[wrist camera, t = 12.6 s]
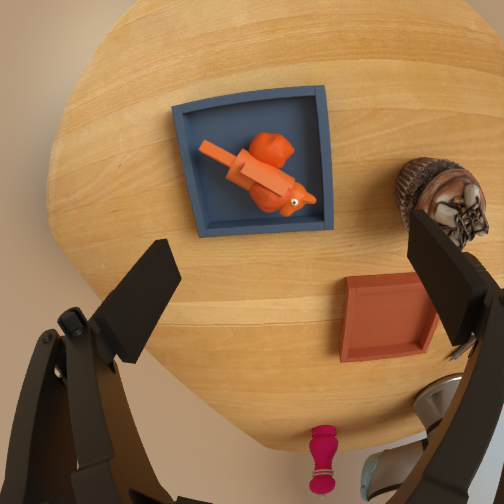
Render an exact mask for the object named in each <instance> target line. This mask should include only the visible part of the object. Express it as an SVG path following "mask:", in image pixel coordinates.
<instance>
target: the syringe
mask: <svg viewBox="0 0 504 504" xmlns="http://www.w3.org/2000/svg"><path fill="white" fill-rule="evenodd" d="M472 335H474V333H472ZM475 341H476V337H475V335H474V336H473V337H472V338H471V339H470V340H469V341H468V343H465V344H464V345H463V346H462V347H461V348H459V349H458V350H457V351H456V352H455V353H454V354H453V355H452V358H451V359H450V360H449V361H452V360H453V359H454V360H456V359H457V358H458V357H459V356H461V355H462V354H463V353H464V352H465V351H467V350H468V349H469V348H470V347H471V346H472V345H473V344H474V343H475ZM449 361H448V362H449ZM448 362H447V363H448ZM443 366H444V365H443Z"/></svg>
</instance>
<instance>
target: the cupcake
mask: <svg viewBox="0 0 504 504" xmlns="http://www.w3.org/2000/svg"><path fill="white" fill-rule="evenodd" d="M394 193H395V197H396V203H397V205H398V208H399V210H400V213H401V216H402V220H403V222H404V225H405V228H407V231H408V233H409V222H410V210H417V209H423V210H424V211H425V212H426V213H427V214H428V215H429V216H430V217H431V218H432V219H433V220H434V221H435V222H436V223H437V224H438V226H439V227H440V228H441V229H442V230H443V231H444V232H445V233H446V234H447V235H448V237H449V238H450V239H451V240H452V241H453V242H454V243H455V245H456V246H457V247H458V248H459V249H460V250H461V252H462V249H463V248H464V247H465V245H466V242H468V241H472V240H473V238H474V237H475V235H476V234H477V235H479V236H484V235H485V234H488V229H489V226H488V222H487V220H486V217H485V210H486V201H485V198H484V194H483V192H482V189H481V187H480V185H479V183H478V181H477V180H476V179H475V177H474V176H473V175H472V174H471V173H469V171H468V170H466V169H464V168H463V167H462V166H460V165H459V164H458V163H455V162H453V161H449V160H445V159H434V158H426V157H424V158H418V159H415V160H412V161H411V162H410V163H408V164H407V165H405V166H404V167H403V168H402V170H401V171H400V173H399V175H398V177H397V180H396V184H395V192H394Z"/></svg>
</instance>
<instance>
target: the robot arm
mask: <svg viewBox="0 0 504 504" xmlns="http://www.w3.org/2000/svg"><path fill="white" fill-rule="evenodd" d="M407 257H408V259H409V261H410V263H411V264H412V266H413V268H414V270H415V271H416V273H417V275H418V277H419V279H420V280H421V282H422V284H423V286H424V288H425V290H426V292H427V293H428V295H429V297H430V299H431V301H432V303H433V305H434V307H435V309H436V311H437V313H438V315H439V318H440V320H441V322H442V324H443V326H444V328H445V330H446V333H447V335H448V337H449V339H450V342H451V344H452V346H457V345H461V344H465V343H468V341H469V339H470V337H471V334H472V332H473V333H474V335H475V337H476V341H475V343H474V345H473V347H472V349H471V351H470V353H469V355H468V358H469V359H468V362H467V365H466V367H465V370H464V373H458V374H453V375H449V376H447V377H444V378H442V379H440V380H438V381H436V382H434V383H432V384H430V385H429V386H427V387H426V388H425V389H423V390H422V391H421V392H420V393H419V394H418V395H417V396H416V397H415V399H414V401H413V407H414V410H415V413H416V414H417V416H418V417H419V419H420V420H421V422H422V424H423V425H424V427H425V428H426V432H427V438H425V439H422V440H419V441H416V442H413V443H410V444H407V445H404V446H400V447H397V448H393V449H389V450H388V449H386V450H384V451H382V452H379V453H375V454H372V455H370V456H369V457H368V458H367V459H366V461H365V463H364V466H363V470H362V475H361V490H360V491H361V497H362V499H363V500H364V501H368V504H467V501H468V498H469V496H468V492H467V491H468V488H469V486H470V484H471V482H472V480H473V478H474V476H475V474H476V472H477V470H478V468H479V466H480V464H481V462H482V460H483V457H484V455H485V453H486V451H487V448H488V446H489V443H490V441H491V438H492V436H493V433H494V431H495V428H496V425H497V422H498V419H499V416H500V413H501V410H502V407H503V404H504V288H503V289H501V288H500V287H499V286H498V284H497V283H496V282H495V280H494V279H493V278H492V276H491V275H490V274H489V273H488V271H486V269H485V268H484V266H483V265H482V264H481V263H480V262H479V260H478V259H477V258H476V257H475V256H473V255H472V254H470V253H469V252H461V250H460V249H459V248H458V247H457V246H456V245H455V243H454V242H453V241H452V240H451V239H450V238H449V237H448V235H447V234H446V233H445V232H444V231H443V230H442V229H441V228H440V227H439V226H438V224H437V223H436V222H435V221H434V220H433V219H432V218H431V217H430V216H429V215H428V214H427V213H426V212H425V211H424V210H423V209H417V210H410V222H409V240H408V252H407ZM181 279H182V278H181V276H180V273H179V270H178V268H177V265H176V263H175V260H174V257H173V254H172V252H171V249H170V246H169V244H168V241H167V239H160V240H155V241H154V242H153V244H152V245H151V246H150V247H149V248H148V249H147V251H146V252H145V253H144V254H143V255H142V256H141V258H140V259H139V260H138V261H137V262H136V264H135V265H134V266H133V267H132V268H131V270H130V271H129V272H128V273H127V274H126V276H125V277H124V278H123V279H122V281H121V282H120V283H119V284H118V286H117V287H116V288H115V289H114V290H113V291H111V292H110V293H109V295H108V296H107V297H106V299H105V300H104V301H103V302H102V304H101V306H99V308H98V309H97V310H96V311H95V313H94V314H93V315H92V317H91V318H90V319H89V321H87V319H86V318H85V316H84V314H83V313H82V311H81V310H80V308H78V307H73V308H70V309H68V310H67V311H65V312H64V313H63V314H61V316H60V317H59V318H58V321H57V323H58V324H59V326H60V327H61V329H62V330H63V332H64V333H65V336H60V335H59V334H58V333H57V331H56V330H55V329H49V330H46V331H45V332H43V333H42V335H41V336H40V337H39V339H38V341H37V343H36V346H35V349H34V352H33V354H32V357H31V360H30V363H29V366H28V369H27V373H26V375H25V379H24V382H23V385H22V389H21V392H20V396H19V400H18V404H17V408H16V412H15V416H14V421H13V425H12V430H11V436H10V442H9V448H8V454H7V462H6V471H5V480H4V483H3V486H2V489H1V493H0V504H212V503H208V502H203V501H198V500H193V499H189V498H185V497H180V496H178V498H177V501H173V499H172V498H171V496H170V495H169V494H168V492H167V491H166V490H165V489H164V488H163V487H162V486H161V485H160V483H159V481H158V480H157V477H156V475H155V473H154V471H153V468H152V466H151V464H150V462H149V459H148V457H147V454H146V452H145V449H144V447H143V444H142V442H141V439H140V437H139V434H138V431H137V428H136V426H135V423H134V420H133V417H132V414H131V411H130V408H129V405H128V402H127V399H126V395H125V392H124V389H123V385H122V382H121V378H120V375H119V370H118V366H117V364H116V362H115V360H114V357H115V355H116V353H117V355H118V356H119V358H120V359H121V360H122V362H126V363H133V364H136V362H137V360H138V358H139V356H140V354H141V352H142V350H143V348H144V346H145V345H146V343H147V341H148V339H149V337H150V335H151V333H152V331H153V330H154V328H155V326H156V324H157V322H158V320H159V319H160V317H161V315H162V313H163V311H164V309H165V308H166V306H167V304H168V302H169V300H170V299H171V297H172V295H173V293H174V292H175V290H176V288H177V286H178V285H179V283H180V281H181ZM55 368H56V369H57V370H58V372H59V373H60V377H57V376H56V375H55ZM77 460H78V464H79V468H78V470H77ZM493 504H504V464H503V469H502V473H501V478H500V481H499V485H498V489H497V492H496V496H495V499H494V502H493Z"/></svg>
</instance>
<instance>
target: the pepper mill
mask: <svg viewBox="0 0 504 504" xmlns="http://www.w3.org/2000/svg"><path fill="white" fill-rule="evenodd" d="M335 435H336V428H335V427H333V426H328V425H325V426H318V427H315V428H313V429H312V437H313V439H312V440H311V441H310V443H309V448H310V452H311V454H312V456H313V458H314V461H315V469H314V471H313V472H312V473H313V475H312V477H314V478H313V479H312V480H311V482H310V485H309V487H310V490H311V491H312V492H314V493H316V494H319V495H318V498H319V499H321V500H322V499H324V498H325V496H326V495H325V494H326V493H329V492H331V491H332V490H333V489H334V487H335V480H334V479H333V478H332V476H333V472H334V471H333V470H332V468H331V464H332V459H333V457H334V454H335V453H336V451H337V448H338V440H337V439H336V438H335V437H334V436H335Z"/></svg>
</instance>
